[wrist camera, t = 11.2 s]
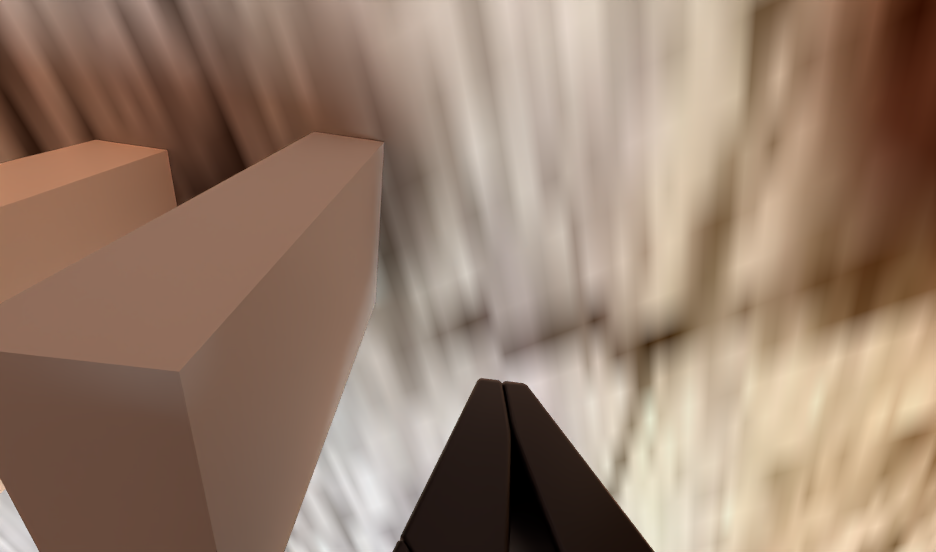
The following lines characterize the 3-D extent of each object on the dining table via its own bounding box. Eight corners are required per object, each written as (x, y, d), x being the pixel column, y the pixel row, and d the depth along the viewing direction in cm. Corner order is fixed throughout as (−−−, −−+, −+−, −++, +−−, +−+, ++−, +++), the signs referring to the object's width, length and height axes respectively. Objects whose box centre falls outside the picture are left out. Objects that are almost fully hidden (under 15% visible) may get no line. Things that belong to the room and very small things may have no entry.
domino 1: (194, 308, 12) (-189, 671, 5) (135, 301, 12) (-339, 662, 5) (167, 149, 10) (-532, 389, 3) (95, 139, 10) (-801, 361, 3)
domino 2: (375, 303, 12) (241, 667, 5) (317, 295, 12) (95, 657, 5) (384, 141, 10) (178, 371, 3) (314, 131, 10) (-73, 342, 3)
